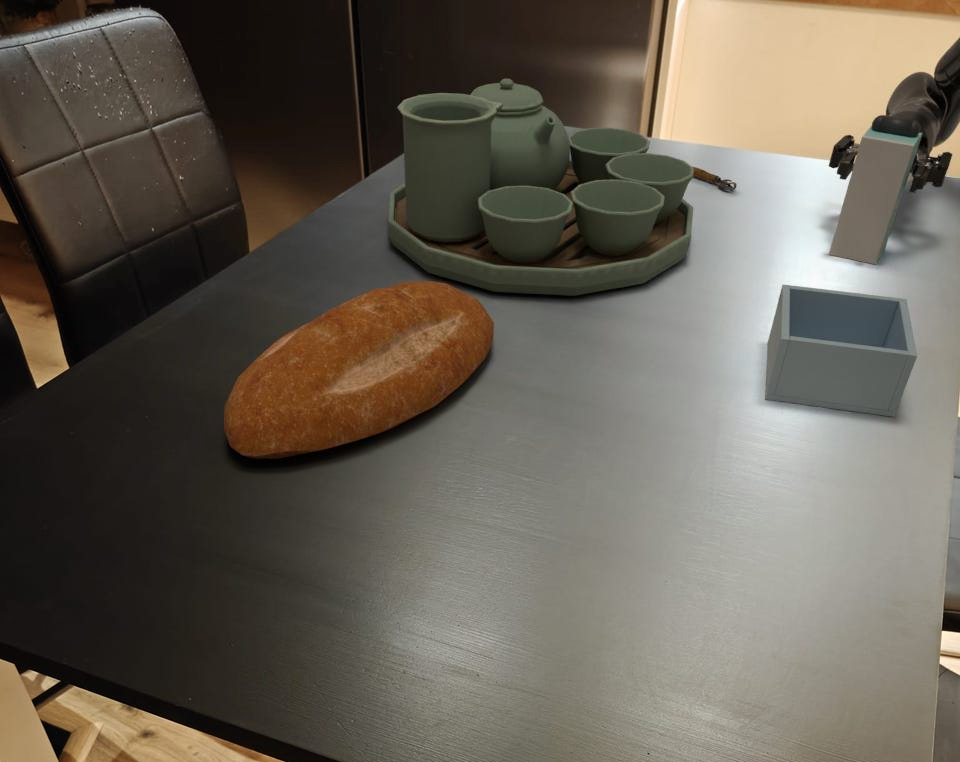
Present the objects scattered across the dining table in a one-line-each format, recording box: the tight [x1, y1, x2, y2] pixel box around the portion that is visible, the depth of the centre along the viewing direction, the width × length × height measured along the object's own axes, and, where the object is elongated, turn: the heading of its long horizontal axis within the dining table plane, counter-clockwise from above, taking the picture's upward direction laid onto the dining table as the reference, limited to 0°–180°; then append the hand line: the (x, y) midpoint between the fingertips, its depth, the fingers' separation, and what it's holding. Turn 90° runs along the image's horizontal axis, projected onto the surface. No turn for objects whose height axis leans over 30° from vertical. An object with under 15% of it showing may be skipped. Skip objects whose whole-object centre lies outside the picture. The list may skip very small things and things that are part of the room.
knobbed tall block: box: [828, 114, 922, 265], centre depth 116 cm, size 6×6×16 cm
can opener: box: [692, 166, 737, 191], centre depth 138 cm, size 9×2×1 cm, turn 34°
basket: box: [764, 284, 918, 418], centre depth 96 cm, size 13×13×7 cm
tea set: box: [387, 78, 694, 297], centre depth 118 cm, size 40×40×16 cm
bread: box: [223, 280, 495, 460], centre depth 91 cm, size 18×35×9 cm, turn 142°
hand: (879, 177), depth 116 cm, fingers open, 8 cm apart
